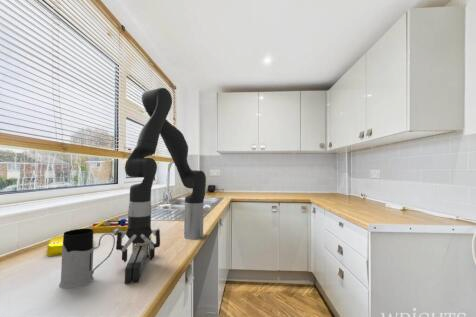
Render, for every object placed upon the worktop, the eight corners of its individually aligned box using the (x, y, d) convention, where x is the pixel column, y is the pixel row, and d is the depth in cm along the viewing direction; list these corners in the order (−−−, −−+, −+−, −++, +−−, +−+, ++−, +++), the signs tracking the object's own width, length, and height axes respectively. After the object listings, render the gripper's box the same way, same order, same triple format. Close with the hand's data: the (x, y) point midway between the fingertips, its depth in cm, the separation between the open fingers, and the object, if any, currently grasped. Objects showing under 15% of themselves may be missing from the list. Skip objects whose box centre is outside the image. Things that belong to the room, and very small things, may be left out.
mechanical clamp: (95, 216, 136) (149, 215, 141) (94, 227, 136) (149, 226, 140) (79, 224, 118) (142, 222, 123) (78, 236, 118) (142, 235, 122)
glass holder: (63, 278, 74) (65, 229, 74) (114, 270, 79) (116, 225, 80) (54, 292, 66) (57, 237, 66) (112, 282, 71) (114, 232, 72)
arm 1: (134, 258, 90) (134, 246, 90) (139, 258, 90) (140, 246, 90) (124, 284, 70) (125, 268, 70) (131, 283, 71) (131, 267, 71)
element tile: (92, 241, 111) (92, 231, 111) (92, 251, 98) (92, 239, 98) (51, 246, 103) (52, 235, 103) (45, 258, 90) (46, 245, 91)
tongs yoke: (135, 255, 93) (136, 243, 93) (148, 254, 94) (148, 242, 94) (134, 258, 90) (134, 246, 90) (147, 257, 91) (147, 245, 92)
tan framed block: (133, 255, 93) (133, 236, 93) (150, 253, 94) (151, 235, 95) (132, 257, 90) (132, 238, 90) (150, 256, 92) (150, 237, 92)
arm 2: (142, 258, 90) (142, 246, 90) (147, 257, 91) (147, 245, 91) (132, 283, 71) (132, 267, 71) (138, 282, 71) (139, 267, 71)
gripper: (161, 211, 90) (160, 254, 89) (120, 212, 86) (118, 257, 86) (160, 215, 83) (159, 262, 82) (115, 216, 79) (113, 266, 78)
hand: (138, 260), depth 84 cm, fingers open, 8 cm apart
